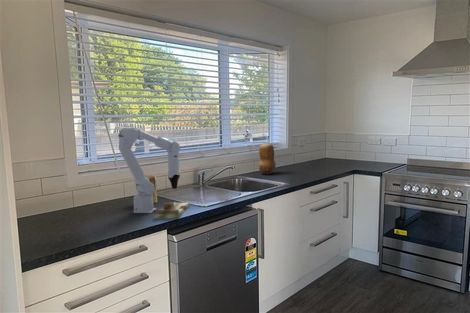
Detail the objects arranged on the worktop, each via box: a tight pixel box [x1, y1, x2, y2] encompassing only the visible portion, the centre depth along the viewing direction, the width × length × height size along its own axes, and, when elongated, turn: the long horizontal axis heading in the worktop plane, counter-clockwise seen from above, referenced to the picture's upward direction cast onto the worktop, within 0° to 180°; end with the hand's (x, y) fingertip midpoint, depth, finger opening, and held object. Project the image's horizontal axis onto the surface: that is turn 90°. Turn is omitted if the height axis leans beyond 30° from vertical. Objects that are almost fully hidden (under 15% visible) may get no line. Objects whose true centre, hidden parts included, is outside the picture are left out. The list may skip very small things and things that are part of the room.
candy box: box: [145, 175, 158, 204], centre depth 197 cm, size 9×4×15 cm, turn 96°
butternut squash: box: [258, 142, 276, 175], centre depth 280 cm, size 14×13×25 cm
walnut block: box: [163, 201, 175, 210], centre depth 172 cm, size 4×4×4 cm
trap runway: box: [153, 202, 190, 219], centre depth 177 cm, size 12×22×4 cm, turn 175°
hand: (174, 188), depth 189 cm, fingers closed
